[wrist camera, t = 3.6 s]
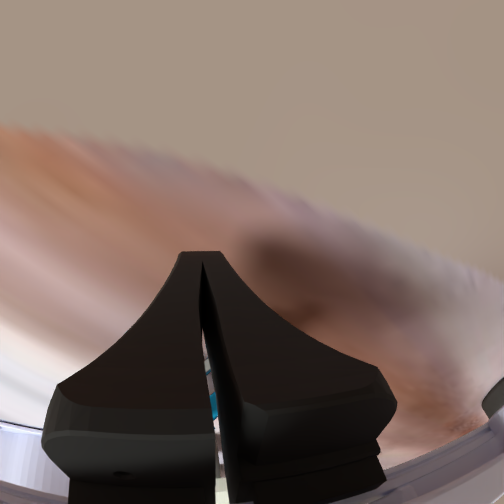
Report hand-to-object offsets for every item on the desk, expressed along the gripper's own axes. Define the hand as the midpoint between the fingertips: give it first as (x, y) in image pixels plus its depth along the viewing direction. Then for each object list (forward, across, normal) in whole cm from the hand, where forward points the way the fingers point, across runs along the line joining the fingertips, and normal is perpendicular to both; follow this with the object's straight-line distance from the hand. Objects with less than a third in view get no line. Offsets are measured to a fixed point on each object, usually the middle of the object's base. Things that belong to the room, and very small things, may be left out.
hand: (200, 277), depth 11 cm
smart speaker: (+4, -43, +25) cm, 50 cm away
